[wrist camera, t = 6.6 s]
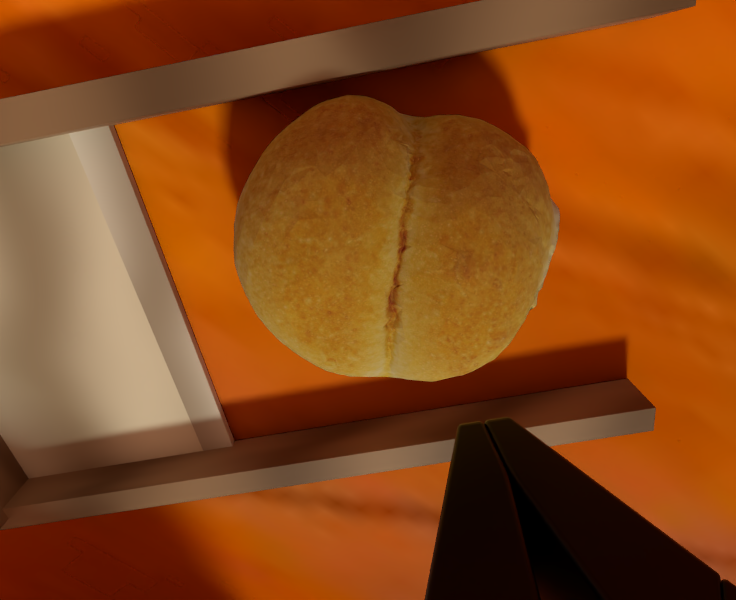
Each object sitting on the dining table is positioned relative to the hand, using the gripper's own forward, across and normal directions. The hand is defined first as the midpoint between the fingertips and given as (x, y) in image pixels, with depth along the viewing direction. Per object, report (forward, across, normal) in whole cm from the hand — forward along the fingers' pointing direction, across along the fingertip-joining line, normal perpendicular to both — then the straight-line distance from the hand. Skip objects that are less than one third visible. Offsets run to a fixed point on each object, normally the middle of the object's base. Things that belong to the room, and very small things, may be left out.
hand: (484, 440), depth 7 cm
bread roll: (+9, +4, 0) cm, 10 cm away
